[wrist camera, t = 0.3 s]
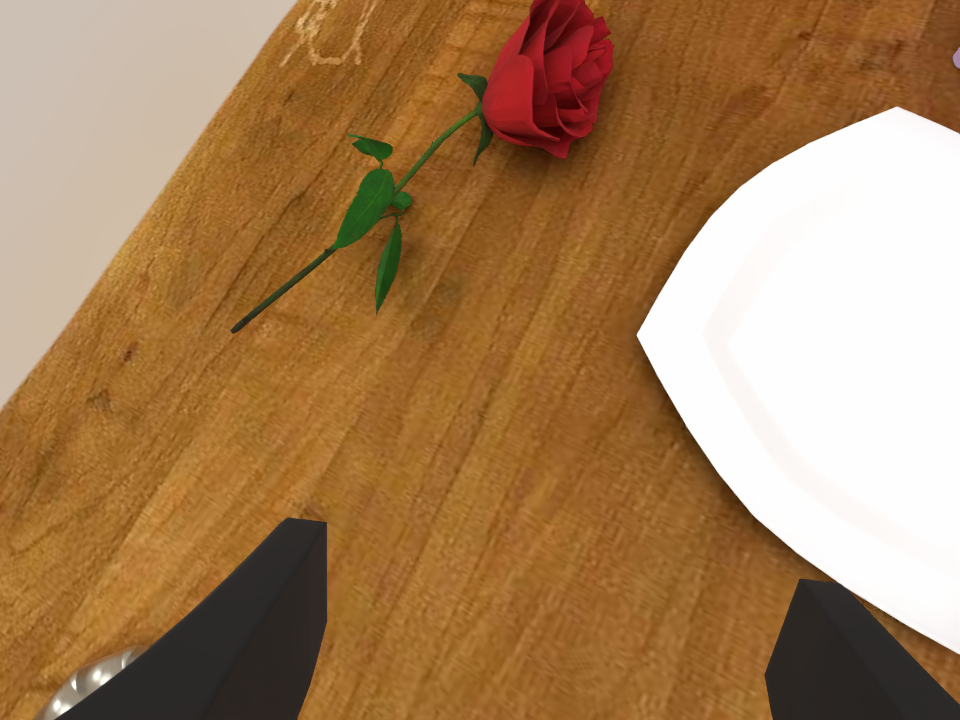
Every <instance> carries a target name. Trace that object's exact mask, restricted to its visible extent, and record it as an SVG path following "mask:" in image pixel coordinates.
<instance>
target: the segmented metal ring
mask: <svg viewBox="0 0 960 720" xmlns="http://www.w3.org/2000/svg"><path fill="white" fill-rule="evenodd" d="M149 647H151V646H146V645H132V646H129V647H126V648H124V649H121V650H119V651H117V652H114V653H112V654H110V655H107V656H105V657H103V658H100V659H98V660H95V661H93V662H91V663H88V664H86V665H84V666H82V667H79V668H78V669H77V670H75V671H74V672H73V673H72V674H71V675H70V676H69V677H68V678H67V679H66V681H65V682H64V683H63V684H62V685H61V686H60V688H59V689H58V690H57V691H56V692H55V694H54V695H53V696H52V697H51V698H50V699H49V701H48V702H47V703H46V704H45V705H44V706H43V708H42V709H41V710H40V711H39V712H38V714H37V715H36V716H35V717H34V719H33V720H54V719H55V718H57V717H58V716H60V715H61V714H63V713H64V712H66V711H67V710H69V709H70V708H71V707H73V706H74V705H76V704H77V703H79V702H80V701H81V700H83V699H84V698H85V697H87V696H88V695H89V694H91V693H92V692H93V691H95V690H96V689H98V688H99V687H100V686H102V685H103V684H104V683H106V682H107V681H108V680H110V679H111V678H112V677H113V676H115V675H116V674H117V673H119V672H120V671H121V670H122V669H124V668H125V667H126V666H127V665H129V664H130V663H131V662H133V661H134V660H135V659H136V658H138V657H139V656H140V655H141V654H142V653H144V652H145V651H146V650H147V649H148V648H149Z"/></svg>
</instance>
